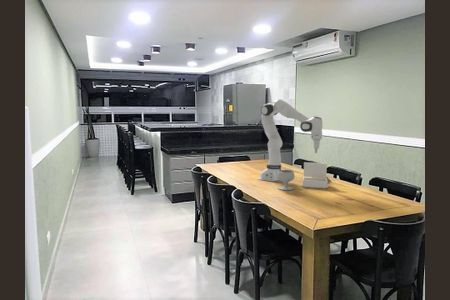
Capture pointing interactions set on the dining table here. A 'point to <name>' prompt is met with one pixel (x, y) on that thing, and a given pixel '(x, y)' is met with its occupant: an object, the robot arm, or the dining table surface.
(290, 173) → the chalice
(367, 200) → the dining table surface
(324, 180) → the mailer box
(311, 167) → the lid
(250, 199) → the dining table surface
